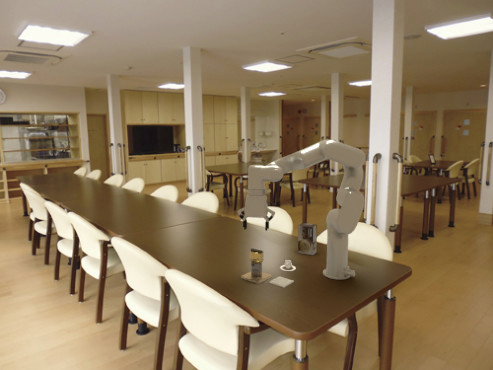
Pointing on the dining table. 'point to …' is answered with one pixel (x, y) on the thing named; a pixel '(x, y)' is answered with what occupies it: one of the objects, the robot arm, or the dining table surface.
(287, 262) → the teacup and saucer
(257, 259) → the cap
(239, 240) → the dining table surface
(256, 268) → the post
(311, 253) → the coffee box
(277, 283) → the mat
